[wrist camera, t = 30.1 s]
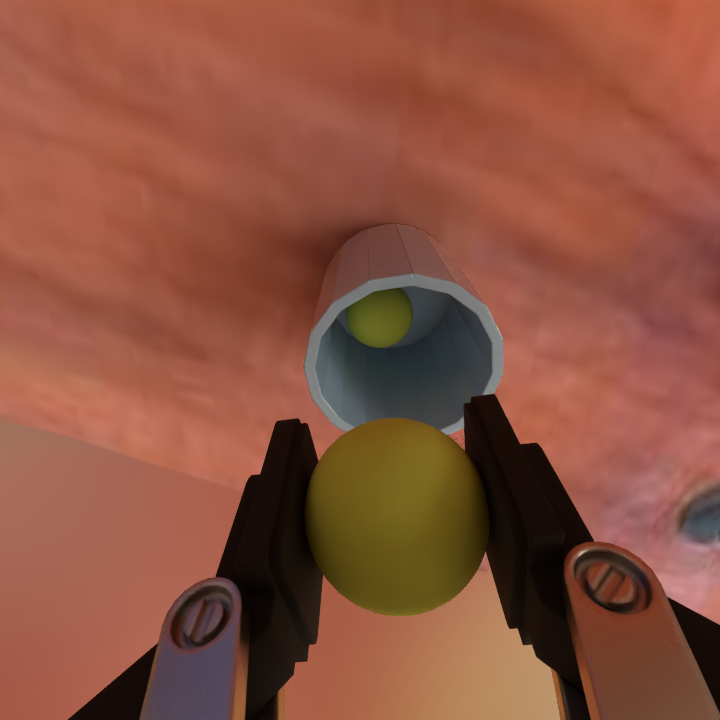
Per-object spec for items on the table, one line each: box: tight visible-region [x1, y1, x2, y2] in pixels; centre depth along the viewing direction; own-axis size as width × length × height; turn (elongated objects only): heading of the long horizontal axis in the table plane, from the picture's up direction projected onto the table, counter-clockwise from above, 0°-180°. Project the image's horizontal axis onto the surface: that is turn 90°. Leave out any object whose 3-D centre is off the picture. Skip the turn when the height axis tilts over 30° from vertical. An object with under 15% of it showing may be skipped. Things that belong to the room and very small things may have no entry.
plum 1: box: [346, 287, 413, 348], centre depth 24 cm, size 4×4×4 cm
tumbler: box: [304, 224, 503, 435], centre depth 22 cm, size 9×9×10 cm
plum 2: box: [304, 418, 490, 616], centre depth 9 cm, size 4×4×4 cm
